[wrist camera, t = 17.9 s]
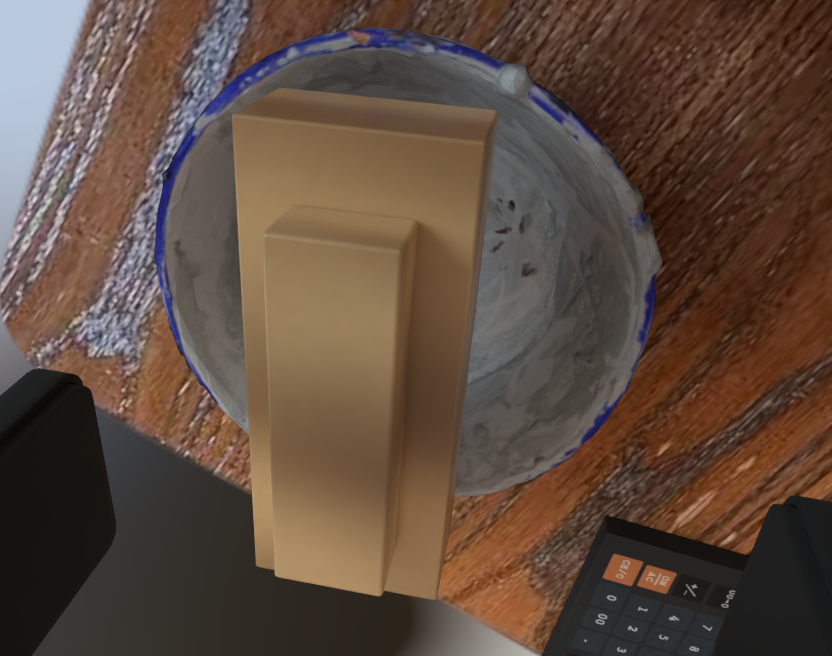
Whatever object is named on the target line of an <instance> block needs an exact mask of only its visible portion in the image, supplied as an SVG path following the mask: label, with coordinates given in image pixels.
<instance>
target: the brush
mask: <svg viewBox="0 0 832 656" xmlns="http://www.w3.org/2000/svg"><path fill="white" fill-rule="evenodd" d="M497 123H498V112H497V111H496V110H488V109H479V108H469V107H460V106H450V105H441V104H431V103H422V102H412V101H403V100H393V99H384V98H374V97H365V96H356V95H346V94H337V93H327V92H318V91H308V90H299V89H289V88H278V89H276V90H274V91H273V92H271V93H269V94H267V95H266V96H264V97H262V98H260V99H259V100H257V101H255V102H253V103H251V104H250V105H248V106H246V107H244V108H243V109H241V110H239V111H237V112H235V113H234V114H233V115H232V129H233V148H234V166H235V184H236V203H237V221H238V240H239V258H240V276H241V295H242V313H243V332H244V350H245V368H246V387H247V405H248V424H249V442H250V460H251V479H252V497H253V514H254V533H255V552H256V565H257V566H258V567H262V568H267V569H273V570H275V575H276V576H277V577H280V578H285V579H290V580H296V581H301V582H306V583H312V584H317V585H322V586H327V587H332V588H338V589H343V590H349V591H354V592H359V593H364V594H369V595H374V596H381V595H382V593H383V591H389V592H394V593H399V594H405V595H410V596H415V597H420V598H426V599H431V600H435V599H436V598H437V594H438V589H439V584H440V579H441V573H442V568H443V563H444V558H445V553H446V548H447V543H448V538H449V533H450V527H451V519H452V510H453V501H454V493H455V484H456V476H457V467H458V458H459V450H460V441H461V433H462V424H463V415H464V407H465V398H466V390H467V381H468V372H469V364H470V355H471V346H472V338H473V329H474V321H475V312H476V303H477V295H478V286H479V278H480V269H481V260H482V252H483V243H484V235H485V226H486V217H487V209H488V200H489V192H490V183H491V174H492V166H493V157H494V148H495V140H496V131H497Z"/></svg>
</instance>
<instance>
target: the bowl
mask: <svg viewBox="0 0 832 656" xmlns="http://www.w3.org/2000/svg"><path fill="white" fill-rule="evenodd" d="M278 88H289V89H299V90H308V91H318V92H327V93H337V94H346V95H356V96H365V97H374V98H384V99H393V100H403V101H412V102H422V103H431V104H441V105H450V106H460V107H469V108H479V109H488V110H496V111H497V112H498V123H497V131H496V140H495V148H494V157H493V166H492V174H491V183H490V192H489V200H488V209H487V217H486V226H485V235H484V243H483V252H482V260H481V269H480V278H479V286H478V295H477V303H476V312H475V321H474V329H473V338H472V346H471V355H470V364H469V372H468V381H467V390H466V398H465V407H464V415H463V424H462V433H461V441H460V450H459V458H458V467H457V476H456V484H455V493H454V497H465V496H480V495H484V494H490V493H496V492H500V491H503V490H506V489H509V488H511V487H512V486H514V485H516V484H518V483H523V482H526V481H529V480H532V479H535V478H537V477H539V476H541V475H543V474H545V473H547V472H548V471H550V470H552V469H554V468H556V467H557V466H558V465H560V464H561V463H563V462H564V461H566V460H567V459H569V458H570V457H571V456H572V455H573V454H574V453H575V451H576V450H577V449H578V448H579V447H580V446H582V445H583V444H584V443H585V442H586V441H587V440H589V439H590V438H591V437H592V436H593V435H594V434H595V433H596V432H597V431H598V430H599V428H600V427H601V426H602V425H603V424H604V423H605V421H606V420H607V419H608V417H609V416H610V414H611V413H612V411H613V410H614V408H615V407H616V405H617V404H618V402H619V401H620V399H621V398H622V396H623V395H624V393H625V392H626V391H627V390H628V389H629V387H630V383H631V380H632V377H633V374H634V372H635V369H636V367H637V364H638V362H639V359H640V357H641V355H642V352H643V350H644V347H645V343H646V340H647V336H648V332H649V328H650V324H651V320H652V316H653V311H654V305H655V295H656V273H657V272H658V271H659V270H660V268H661V267H662V260H663V258H662V256H661V253H660V250H659V248H658V245H657V242H656V239H655V234H654V230H653V226H652V222H651V218H650V216H649V215H648V214H647V213H645V212H644V203H643V196H642V194H641V192H640V191H639V189H638V187H637V186H635V185H633V184H632V183H630V182H629V180H628V178H627V176H626V174H625V172H624V171H623V170H622V168H621V167H620V165H619V163H618V162H617V160H616V159H615V157H614V155H613V154H612V152H611V151H610V149H609V148H608V147H607V146H606V145H605V144H604V143H603V142H602V141H601V140H600V139H599V137H598V136H597V135H596V134H595V133H594V132H593V131H592V130H591V129H590V128H589V127H588V126H587V125H586V124H585V122H584V121H583V120H582V119H581V118H580V117H579V116H578V115H577V114H576V113H575V112H574V111H572V110H571V108H570V107H569V106H568V105H567V104H566V103H565V102H564V101H563V100H561V99H559V98H557V97H556V96H555V95H554V94H552V93H551V92H550V91H548V90H547V89H545V88H544V87H542V86H541V85H539V84H538V83H536V82H534V81H533V80H532V78H531V76H530V74H529V72H528V70H527V68H526V66H525V65H522V64H508V63H505V62H502V61H499V60H497V59H495V58H492V57H490V56H488V55H486V54H484V53H482V52H480V51H478V50H476V49H474V48H472V47H469V46H466V45H463V44H460V43H457V42H455V41H452V40H450V39H447V38H444V37H439V36H433V35H428V34H423V33H416V32H410V31H403V30H396V29H382V28H356V29H347V30H343V31H339V32H335V33H329V34H320V35H317V36H314V37H311V38H308V39H305V40H302V41H299V42H296V43H293V44H291V45H289V46H287V47H284V48H282V49H280V50H278V51H276V52H274V53H272V54H270V55H268V56H266V57H265V58H263V59H262V60H260V61H258V62H257V63H255V64H253V65H252V66H250V67H249V68H247V69H246V70H244V71H243V72H242V73H240V74H239V75H237V76H236V77H235V78H234V79H233V80H232V81H231V82H230V83H229V84H228V85H227V86H226V88H225V89H224V90H223V91H222V92H221V93H220V94H219V95H218V96H217V97H216V98H215V99H214V100H213V101H211V102H210V103H209V104H208V105H207V107H206V108H205V109H204V111H203V112H202V113H201V115H200V116H199V118H198V119H197V121H196V122H195V123H194V125H193V126H192V128H191V129H190V131H189V132H188V134H187V135H186V137H185V138H184V140H183V141H182V143H181V144H180V146H179V148H178V150H177V152H176V153H175V155H174V156H173V158H172V162H171V164H170V166H169V167H168V169H167V170H166V171H165V172H164V173H163V174H162V176H163V188H162V194H161V198H160V203H159V208H158V213H157V222H156V239H155V253H154V257H155V262H156V265H157V271H158V279H159V284H160V288H161V293H162V298H163V302H164V306H165V310H166V313H167V317H168V321H169V327H170V330H171V331H172V333H173V336H174V338H175V341H176V344H177V348H178V350H179V352H180V354H181V355H182V356H184V358H185V361H186V364H187V366H188V367H189V369H190V370H191V371H192V372H193V373H194V374H195V375H196V376H197V378H198V381H199V384H200V385H202V386H204V387H205V388H206V390H207V391H208V392H209V394H210V395H211V396H212V398H213V399H214V401H215V402H216V403H217V404H218V406H219V407H220V408H221V409H222V410H223V411H224V412H225V413H226V414H227V415H228V416H229V417H230V418H231V419H232V420H233V421H234V422H235V423H236V424H237V425H238V426H239V427H241V428H242V429H243V430H244V431H245V432H247V433H248V434H249V424H248V405H247V387H246V368H245V350H244V332H243V313H242V295H241V276H240V258H239V240H238V221H237V203H236V184H235V166H234V148H233V129H232V115H233V114H234V113H235V112H237V111H239V110H241V109H243V108H244V107H246V106H248V105H250V104H251V103H253V102H255V101H257V100H259V99H260V98H262V97H264V96H266V95H267V94H269V93H271V92H273V91H274V90H276V89H278ZM657 281H658V280H657Z"/></svg>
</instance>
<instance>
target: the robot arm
mask: <svg viewBox="0 0 832 656" xmlns="http://www.w3.org/2000/svg"><path fill="white" fill-rule="evenodd" d="M115 532H116V520H115V514H114V509H113V503H112V498H111V493H110V487H109V482H108V477H107V471H106V466H105V461H104V455H103V449H102V444H101V439H100V434H99V428H98V423H97V417H96V412H95V406H94V401H93V396H92V393H91V390H90V389H89V388H88V387H85V386H83V383H82V380H81V379H80V378H79V377H78V376H77V375H74V374H70V373H64V372H58V371H52V370H46V369H40V368H38V369H33V370H31V371H29V372H28V373H26V374H25V375H24V376H23V377H22V378H21V379H19V380H18V381H17V382H16V383H15V384H14V385H12V386H11V387H10V388H9V389H8V390H7V391H5V392H4V393H3V394H2V395H1V396H0V656H32V654H33V653H34V651H35V650H36V649H37V647H38V646H39V645H40V643H41V642H42V641H43V639H44V638H45V636H46V635H47V634H48V632H49V631H50V630H51V628H52V627H53V625H54V624H55V623H56V621H57V620H58V619H59V617H60V616H61V614H62V613H63V612H64V610H65V609H66V607H67V606H68V605H69V603H70V602H71V601H72V599H73V598H74V596H75V595H76V594H77V592H78V591H79V590H80V588H81V587H82V585H83V584H84V583H85V581H86V580H87V578H88V577H89V576H90V574H91V573H92V572H93V570H94V569H95V568H96V566H97V565H98V563H99V562H100V561H101V559H102V558H103V557H104V555H105V554H106V552H107V551H108V550H109V548H110V546H111V544H112V542H113V540H114V536H115ZM713 656H832V502H830V501H824V500H819V499H813V498H807V497H801V496H790V497H789V498H788V499H787V500H786V502H785V504H784V505H779V504H773V505H772V506H771V507H770V508H769V510H768V512H767V515H766V517H765V520H764V522H763V525H762V527H761V530H760V532H759V535H758V537H757V539H756V542H755V544H754V547H753V549H752V552H751V554H750V557H749V559H748V562H747V564H746V567H745V569H744V572H743V574H742V576H741V579H740V581H739V584H738V586H737V589H736V591H735V594H734V596H733V599H732V601H731V604H730V606H729V608H728V611H727V613H726V616H725V618H724V621H723V623H722V626H721V628H720V631H719V633H718V636H717V638H716V641H715V645H714V653H713Z"/></svg>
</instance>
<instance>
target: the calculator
mask: <svg viewBox="0 0 832 656" xmlns="http://www.w3.org/2000/svg"><path fill="white" fill-rule="evenodd" d="M748 559H749V556H745V555H742V554H738V553H735V552H731V551H728V550H724V549H721V548H717V547H714V546H710V545H707V544H703V543H700V542H696V541H693V540H689V539H686V538H682V537H679V536H675V535H671V534H668V533H664V532H661V531H657V530H654V529H650V528H647V527H643V526H640V525H636V524H633V523H629V522H626V521H622V520H619V519H615V518H612V517H608V516H606V517H605V519H604V521H603V523H602V525H601V528H600V530H599V532H598V534H597V536H596V538H595V541H594V543H593V545H592V547H591V549H590V552H589V554H588V556H587V558H586V560H585V562H584V565H583V567H582V569H581V571H580V573H579V576H578V578H577V580H576V582H575V584H574V586H573V589H572V591H571V593H570V595H569V597H568V600H567V602H566V604H565V606H564V608H563V610H562V613H561V615H560V617H559V619H558V621H557V624H556V626H555V628H554V630H553V632H552V634H551V637H550V639H549V641H548V643H547V645H546V648H545V650H544V652H543V654H542V656H713V653H714V645H715V641H716V638H717V636H718V633H719V631H720V628H721V626H722V623H723V621H724V618H725V616H726V613H727V611H728V608H729V606H730V604H731V601H732V599H733V596H734V594H735V591H736V589H737V586H738V584H739V581H740V579H741V576H742V574H743V572H744V569H745V567H746V564H747V562H748Z"/></svg>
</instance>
